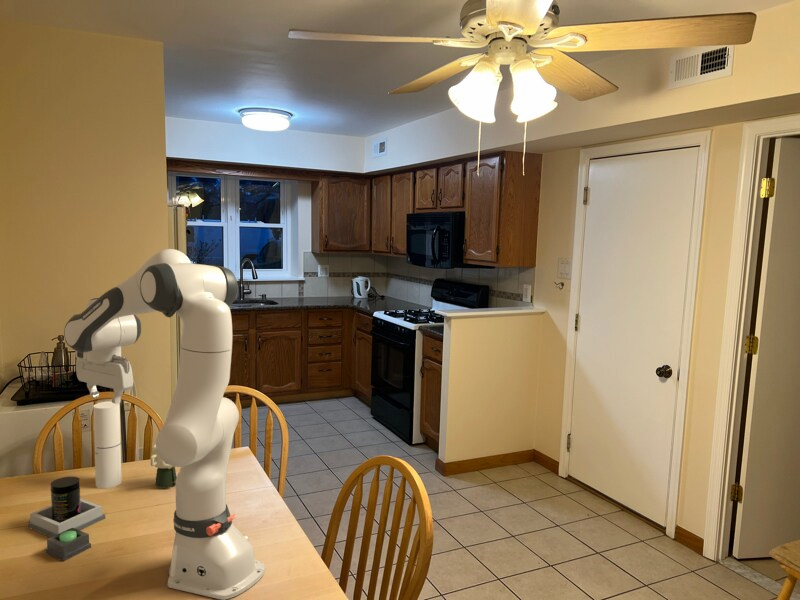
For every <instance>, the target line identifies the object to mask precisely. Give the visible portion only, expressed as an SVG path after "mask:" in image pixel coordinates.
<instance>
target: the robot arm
mask: <svg viewBox="0 0 800 600" xmlns="http://www.w3.org/2000/svg"><path fill="white" fill-rule="evenodd" d="M238 289H239V284H238V279H237V277H236V276H235V273H233V271H232V270H231V269H229V268H227V267H225V266H221V265H217V264H212V265H210V264H209V265H207V264H201V263H200V264H199V263H193V262H191V260H190V258H189V257H188V256H187V255H186V254H185V253H183V252H182V251H180V250H178V249H175V248H174V249H173V248H165V249H163V250H160V251H158V252H157V253H156V254H153V255H152V256H151V257H150V258H149V259H148V260H146V261H145V262H144V263H143V264H142V265H141V267H140V268H139V269H138V270H137V271H136V272H135V273H134V274H133V275H132V276H130V277H128V278H127V279H126V280H124V281H123V282H120V283H119V284H118V285H116V286H115V287H113V288H111V289H109V290H107V291H105V293H103V294H102V295H101V296H100V297H94V298H92V299H91V298H90V300H88V302H87V304H86V309H85V310H84V311H82V312H81V313H78V314H77V313H76V314H74V315H73V316H72V317H71V318H70V319H68V321H67V322H66V324H65V326H64V330H63V337H64V341H65V342H66V344H67V346H68V347H70V348H71V349H72V350H74V351H75V352H74V354H75V358H77V359H76V362H75V369H76V372H75V373H76V377H77V380H78V381H79V382H84V383H86V387H87V389H88V391H89V395H90V398H91V399H98V398H99V397H100V391H98V389H97V386H100V387H104V388H109V389H113V393H114V394H113V396H112V397H111V401H112V403H115V404H118V403H121V400H122V398H121V397H122V396H123V393H124V391H126V390H130V389H132V388H133V386H134V377H133V374H134V373H133V369H132V365H131V363H130V361H129V360H128V359H127V357H126V356H122V347H127V346H131V345H135V344H136V343H137V341H138V340H139V338H140V336H141V334H142V323H141V320H140V318H139V317H138V316H137V315H140V314H149V313H154V312H155V313H156V312H159V313H162V314H163V315H164V317H167V318H168V319H169V318H172V317H173V316H175V314H177V315H178V317H179V318H180V320H181V324H182V325H181V326H182V327H181V335H180V336H181V337H180V348H179V349H180V351H179V361H178V376H177V380H176V385H175V389H174V393H173V396H172V399H171V404H170V406H169V410H168V412H167V414H166V415H167V416H166V419H165V421H164V423H163V425H162V427H161V428H160V430H159V432H158V434H157V436H156V438H155V444H156V449H157V452H158V454H159V456H160V458H161V459H162V460H163V461H164V462H165V463H167V464H169V465H171V466H174V467H175V468H180V469H179V471H178V473H177V474H176V477H177V478H176V485H175V510H174V513H173V521H172V522H173V529H174V532H175V533H174V534H175V536H174V540H173V545H172V546H173V547H172V555H171V562H170V565H169V568H168V574H169V577H168V579H167V587H168V588H170V589H174V590H177V591H183V592H186V593H191V594H195V595H201V596H204V597H209V598H214V599H217V600H229V599H232V598H234V597H236V596H239V595H241V594H243V593H244V592H246V591H247V590H249V589H251V587H253V586H254V585H255V584H256V583H257V582H258V581H260V579H262V577H263V576H264V575H265V573H266V565H265V564H264V563H263V562H261V560H258V559H257V558H256V555H255V549H254V546H253V545H252V543H251V542H250V541H249V537H248V535H245V534H244V535H243V534H242V533H241V531H240V530H239V529H238V528H237V527H236V526H235V525H234V524H233V520H234V519H236V517H235V516H236V514H235V513H233V514H231V513H230V510H229V507H228V504H227V474H228V472H227V471H228V466H229V460H230V456H231V452H232V451H231V450H232V445H233V440H234V436H235V431H236V428H237V426H238V424H239V420H240V412H239V409H238V407H237V405H236V404H235V403H234V401H232V399H229V398H227V397H224V394H225V392H226V389H227V387H228V385H229V383H230V379H231V364H232V353H233V322H232V321H233V320H232V313H231V308H230V306H232V305H233V303H234V302H235V300H236V298H237V295H238Z"/></svg>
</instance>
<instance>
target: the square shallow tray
mask: <svg viewBox="0 0 800 600" xmlns="http://www.w3.org/2000/svg"><path fill="white" fill-rule="evenodd" d="M80 506H81V514H79V515H77V516H75V517H72V518H70V519H68V520H65V521H63V522H61V523H59V522H56V521H54V520H52V506H51V505H49V506H45V507H44V508H41V509H39V510H36V511H34V512H31V513H30V514H29V519H30V521H29V522H27V524H26V525H27V528H28V529H31V528H32V530H33V529H34V531H36V532H38V531H39V532H38V533H40V532H41V533H40V534H43V535H46V536H47V535H48V536H47V537H49V538H51V537H53V536H55V535H57V534H59V533H62V532H64V531H66V530H68V529H70V528H75V529H77V530H80V531H82V530H83V529H85V528H88V527H90V526H92V525H94V524H96V523H98V522H100V521H103V520H105V519H106V514H104V513H103V506H102V505H99V504H96V503H94V502H91V501H89V500H87V499H83V498H81V497H80Z"/></svg>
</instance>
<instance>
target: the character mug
mask: <svg viewBox="0 0 800 600" xmlns="http://www.w3.org/2000/svg"><path fill="white" fill-rule="evenodd" d="M152 452H153V454H152V455H151V456H150V466H151V467H154V468H157V469H156V474H155V475H156V476H155V484H154V485H155V486H156V487H159V488H160V489H166V488H167V489H168V488H172V487H173V483H174V486H176V478H177V472H176V467H174V466H171V465H169V464H167V463H165V462H164V461H163V460H162V459H161V458H160V456H159V454H158V452H157V449H156V443H155V444H154V445H153V450H152Z"/></svg>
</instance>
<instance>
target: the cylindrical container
mask: <svg viewBox="0 0 800 600" xmlns="http://www.w3.org/2000/svg"><path fill="white" fill-rule="evenodd" d="M120 403H121V402H120ZM120 403H118V404H115V403H112V400H111V401H103V402H98V403H96V404H93V442H94V466H95V467H94V471H95V476H94V477H95V487H96V488H98V489H112V488H115V487H118V486H119V485H121V484H122V481H123V480H122V479H123V478H122V447H121V446H122V444H121V441H122V440H121V438H122V437H121V405H120Z"/></svg>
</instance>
